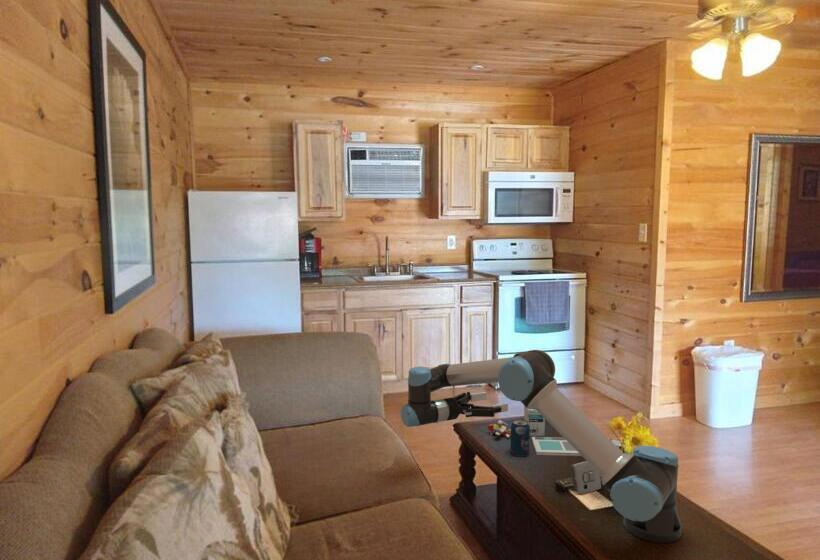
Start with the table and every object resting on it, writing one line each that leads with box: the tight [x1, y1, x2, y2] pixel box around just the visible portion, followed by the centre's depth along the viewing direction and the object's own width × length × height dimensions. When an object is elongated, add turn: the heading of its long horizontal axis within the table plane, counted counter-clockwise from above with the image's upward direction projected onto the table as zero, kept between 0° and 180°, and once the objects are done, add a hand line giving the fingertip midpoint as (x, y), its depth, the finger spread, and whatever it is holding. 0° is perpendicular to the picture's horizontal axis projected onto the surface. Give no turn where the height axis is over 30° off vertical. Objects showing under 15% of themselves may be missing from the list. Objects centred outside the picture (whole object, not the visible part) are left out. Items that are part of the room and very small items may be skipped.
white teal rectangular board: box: [531, 436, 582, 457], centre depth 215 cm, size 14×20×1 cm
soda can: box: [509, 419, 531, 457], centre depth 210 cm, size 7×7×12 cm
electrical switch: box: [569, 460, 602, 495], centre depth 183 cm, size 9×5×9 cm, turn 116°
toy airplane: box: [487, 419, 511, 439], centre depth 227 cm, size 9×9×6 cm
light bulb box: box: [523, 405, 546, 437], centre depth 231 cm, size 11×7×11 cm, turn 179°
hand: (496, 401), depth 204 cm, fingers open, 13 cm apart
